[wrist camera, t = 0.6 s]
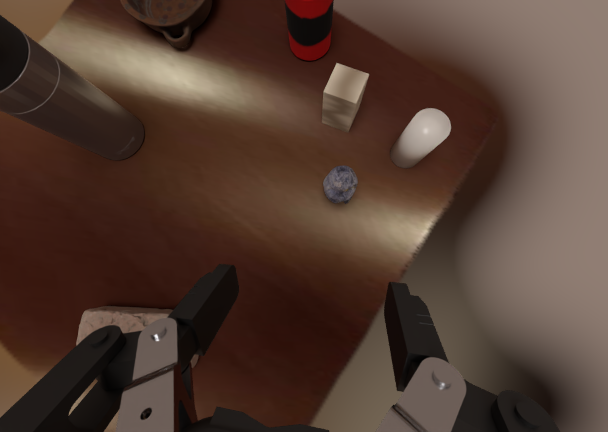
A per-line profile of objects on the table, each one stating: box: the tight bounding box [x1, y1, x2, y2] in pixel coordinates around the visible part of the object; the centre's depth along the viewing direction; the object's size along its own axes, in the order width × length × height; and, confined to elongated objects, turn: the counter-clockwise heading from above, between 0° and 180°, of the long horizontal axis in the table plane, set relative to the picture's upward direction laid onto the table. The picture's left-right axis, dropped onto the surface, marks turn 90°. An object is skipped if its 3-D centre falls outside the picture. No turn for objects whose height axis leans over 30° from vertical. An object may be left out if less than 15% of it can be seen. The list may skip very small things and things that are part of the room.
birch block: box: [322, 63, 369, 132], centre depth 37 cm, size 5×5×8 cm
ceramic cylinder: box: [390, 108, 451, 168], centre depth 35 cm, size 5×5×9 cm
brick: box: [76, 306, 198, 368], centre depth 35 cm, size 17×8×5 cm, turn 88°
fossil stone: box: [323, 166, 358, 204], centre depth 34 cm, size 5×5×10 cm
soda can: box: [285, 0, 334, 61], centre depth 37 cm, size 8×8×12 cm
